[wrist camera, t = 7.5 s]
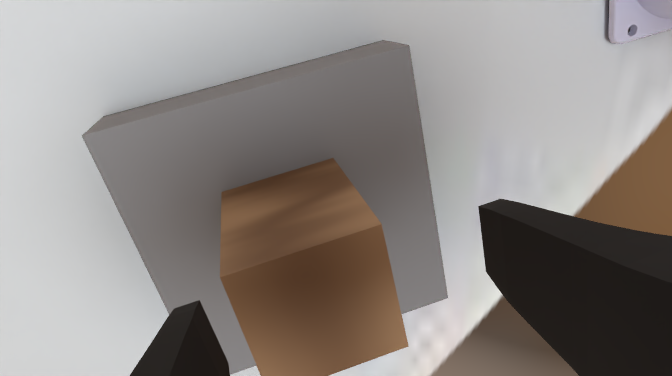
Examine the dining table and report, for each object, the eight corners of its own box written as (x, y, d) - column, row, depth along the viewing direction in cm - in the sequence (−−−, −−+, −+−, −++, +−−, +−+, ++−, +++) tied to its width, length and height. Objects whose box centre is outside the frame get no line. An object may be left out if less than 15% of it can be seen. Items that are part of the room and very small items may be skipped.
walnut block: (333, 157, 18) (381, 224, 12) (357, 251, 19) (408, 346, 14) (221, 191, 17) (219, 277, 12) (257, 285, 19) (269, 397, 13)
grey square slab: (383, 40, 19) (409, 45, 17) (423, 265, 24) (447, 297, 22) (103, 116, 18) (81, 135, 15) (206, 339, 23) (203, 383, 20)
